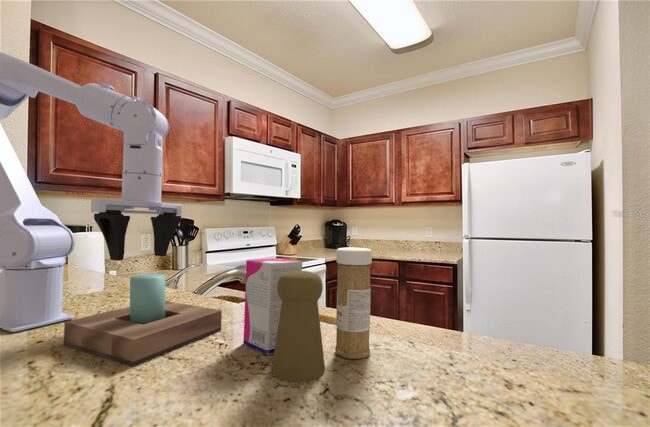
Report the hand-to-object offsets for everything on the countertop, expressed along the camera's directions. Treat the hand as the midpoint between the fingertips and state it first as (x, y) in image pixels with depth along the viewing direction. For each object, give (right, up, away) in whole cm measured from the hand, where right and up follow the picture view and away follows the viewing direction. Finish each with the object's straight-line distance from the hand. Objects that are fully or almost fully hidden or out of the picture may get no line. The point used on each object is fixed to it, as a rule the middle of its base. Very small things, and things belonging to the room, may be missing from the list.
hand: (139, 257), depth 53 cm
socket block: (+5, -10, -7) cm, 14 cm away
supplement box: (+23, -11, -9) cm, 27 cm away
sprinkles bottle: (+34, -11, -12) cm, 38 cm away
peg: (+5, -10, -7) cm, 13 cm away
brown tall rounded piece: (+28, -11, -17) cm, 34 cm away
